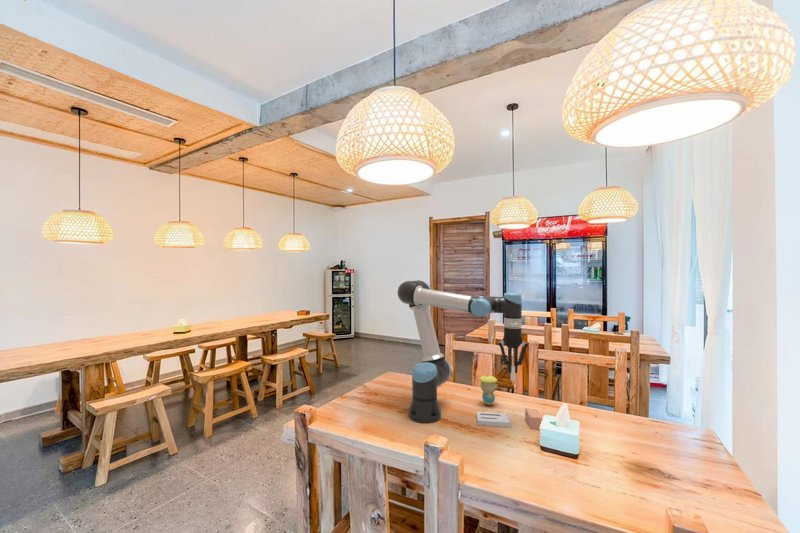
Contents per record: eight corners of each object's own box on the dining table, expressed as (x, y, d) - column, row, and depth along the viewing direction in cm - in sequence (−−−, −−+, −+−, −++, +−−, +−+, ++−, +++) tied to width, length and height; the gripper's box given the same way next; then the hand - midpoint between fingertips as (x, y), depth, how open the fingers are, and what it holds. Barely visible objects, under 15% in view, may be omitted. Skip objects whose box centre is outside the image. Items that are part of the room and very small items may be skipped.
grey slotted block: (478, 425, 140) (477, 420, 140) (476, 416, 149) (476, 411, 149) (511, 427, 138) (511, 422, 138) (507, 418, 147) (507, 413, 147)
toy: (499, 407, 158) (499, 377, 159) (481, 407, 158) (481, 377, 159) (495, 401, 166) (495, 372, 166) (478, 401, 166) (477, 372, 167)
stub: (529, 428, 137) (529, 416, 137) (525, 419, 145) (525, 408, 146) (542, 429, 136) (541, 417, 136) (536, 420, 145) (536, 408, 145)
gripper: (498, 328, 140) (498, 381, 140) (529, 329, 138) (529, 383, 138) (496, 325, 148) (496, 376, 147) (526, 326, 146) (526, 378, 145)
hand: (512, 379), depth 143 cm, fingers closed
